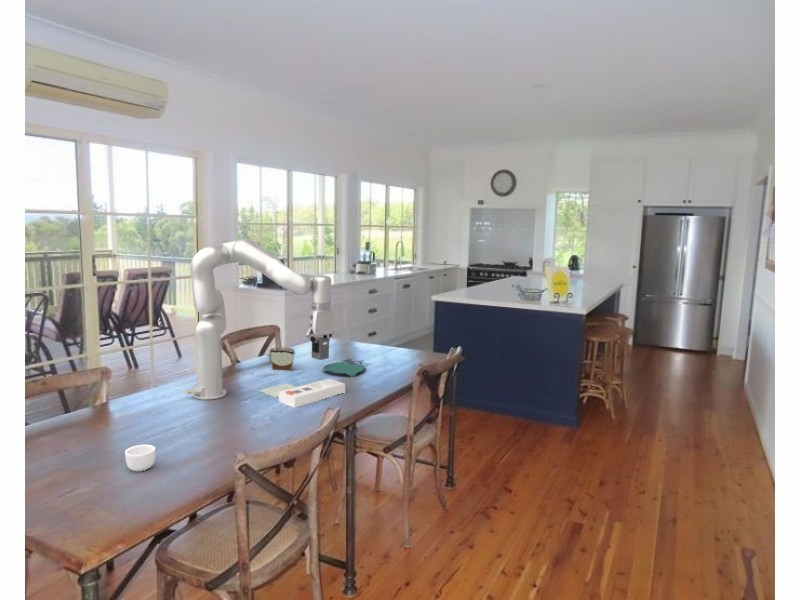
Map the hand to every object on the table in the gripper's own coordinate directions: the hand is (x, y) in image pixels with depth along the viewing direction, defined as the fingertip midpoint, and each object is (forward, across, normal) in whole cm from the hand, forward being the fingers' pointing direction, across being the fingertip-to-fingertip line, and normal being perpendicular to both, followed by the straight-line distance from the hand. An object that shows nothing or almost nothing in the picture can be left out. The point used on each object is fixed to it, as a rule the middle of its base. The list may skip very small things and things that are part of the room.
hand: (320, 350), depth 220 cm
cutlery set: (+19, +36, +21) cm, 46 cm away
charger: (+3, 0, 0) cm, 3 cm away
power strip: (+19, -4, 0) cm, 19 cm away
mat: (+19, -8, +15) cm, 25 cm away
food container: (+19, +13, +42) cm, 48 cm away
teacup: (+19, -79, -14) cm, 82 cm away
